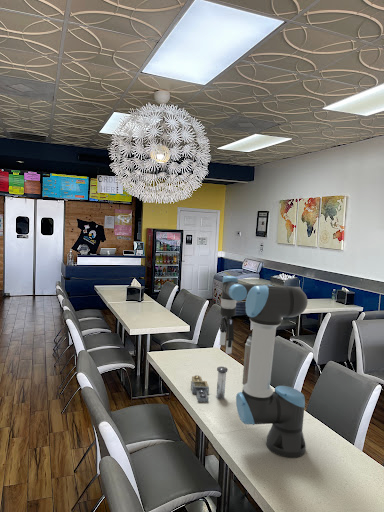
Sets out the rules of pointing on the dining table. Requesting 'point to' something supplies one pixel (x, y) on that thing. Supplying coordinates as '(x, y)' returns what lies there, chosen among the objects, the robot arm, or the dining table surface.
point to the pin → (221, 382)
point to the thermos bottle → (247, 359)
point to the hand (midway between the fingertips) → (225, 349)
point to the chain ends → (200, 388)
